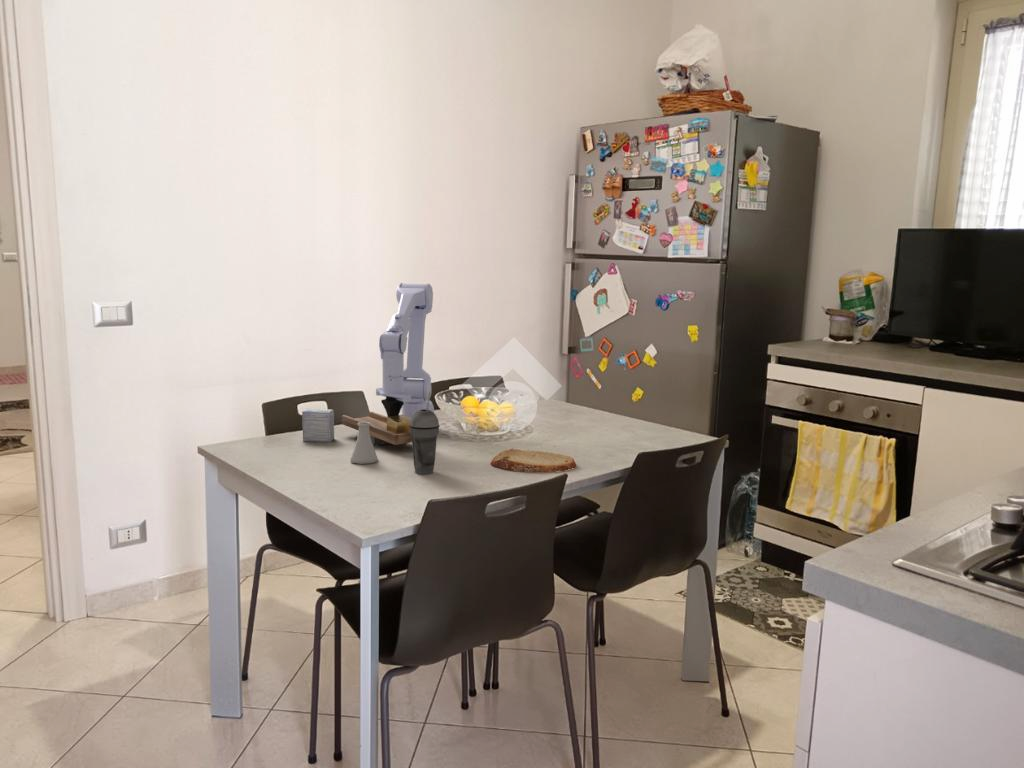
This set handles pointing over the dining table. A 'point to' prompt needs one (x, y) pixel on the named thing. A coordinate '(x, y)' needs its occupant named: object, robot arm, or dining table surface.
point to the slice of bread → (532, 461)
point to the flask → (363, 446)
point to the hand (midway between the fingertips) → (393, 424)
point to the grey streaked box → (318, 425)
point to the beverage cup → (424, 439)
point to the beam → (378, 428)
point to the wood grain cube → (398, 424)
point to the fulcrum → (377, 441)
